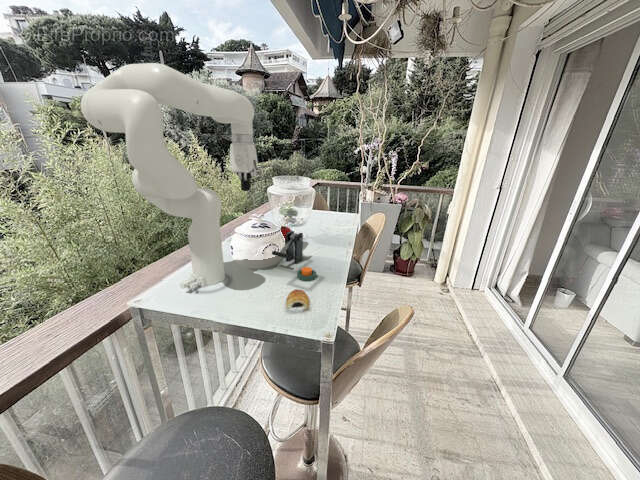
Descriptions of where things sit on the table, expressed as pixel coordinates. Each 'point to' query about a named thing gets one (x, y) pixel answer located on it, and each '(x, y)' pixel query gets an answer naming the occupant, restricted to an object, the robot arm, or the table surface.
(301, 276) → the button box
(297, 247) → the bracket
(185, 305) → the table surface
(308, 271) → the button
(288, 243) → the lever
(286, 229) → the tomato
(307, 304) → the pastry
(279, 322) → the table surface
